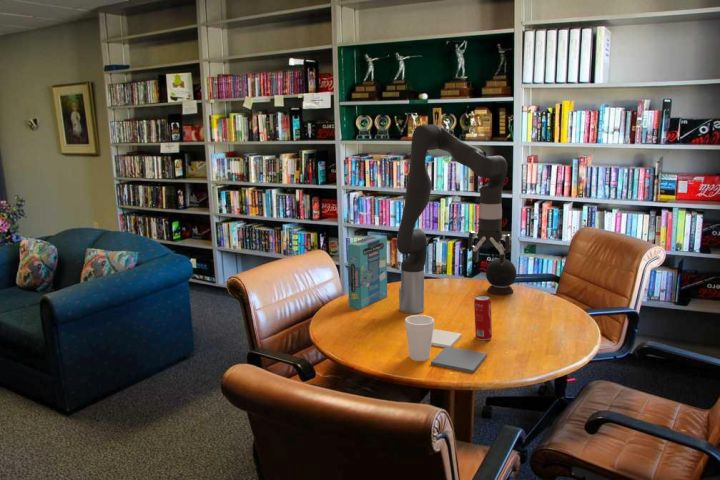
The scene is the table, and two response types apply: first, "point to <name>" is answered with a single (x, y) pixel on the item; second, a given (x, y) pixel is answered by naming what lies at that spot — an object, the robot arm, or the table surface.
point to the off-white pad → (444, 338)
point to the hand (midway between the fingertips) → (488, 263)
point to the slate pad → (459, 359)
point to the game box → (367, 271)
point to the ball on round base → (500, 277)
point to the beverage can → (483, 318)
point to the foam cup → (419, 336)
